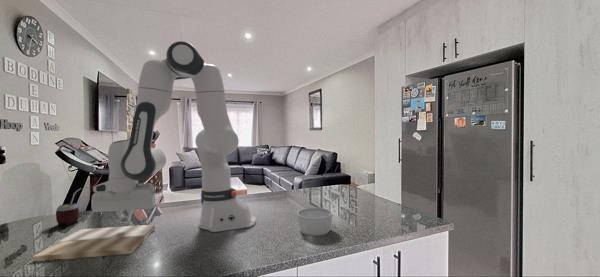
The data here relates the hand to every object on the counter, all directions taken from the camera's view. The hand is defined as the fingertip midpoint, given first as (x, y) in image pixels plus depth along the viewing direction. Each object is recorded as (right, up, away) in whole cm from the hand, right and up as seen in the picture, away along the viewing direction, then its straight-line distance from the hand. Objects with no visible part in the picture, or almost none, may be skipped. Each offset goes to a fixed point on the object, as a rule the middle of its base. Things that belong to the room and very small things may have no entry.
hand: (125, 221), depth 96 cm
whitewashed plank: (-4, -5, -2) cm, 7 cm away
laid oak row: (-2, -5, -12) cm, 14 cm away
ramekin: (+69, -4, +2) cm, 70 cm away
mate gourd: (-31, -5, +12) cm, 34 cm away
